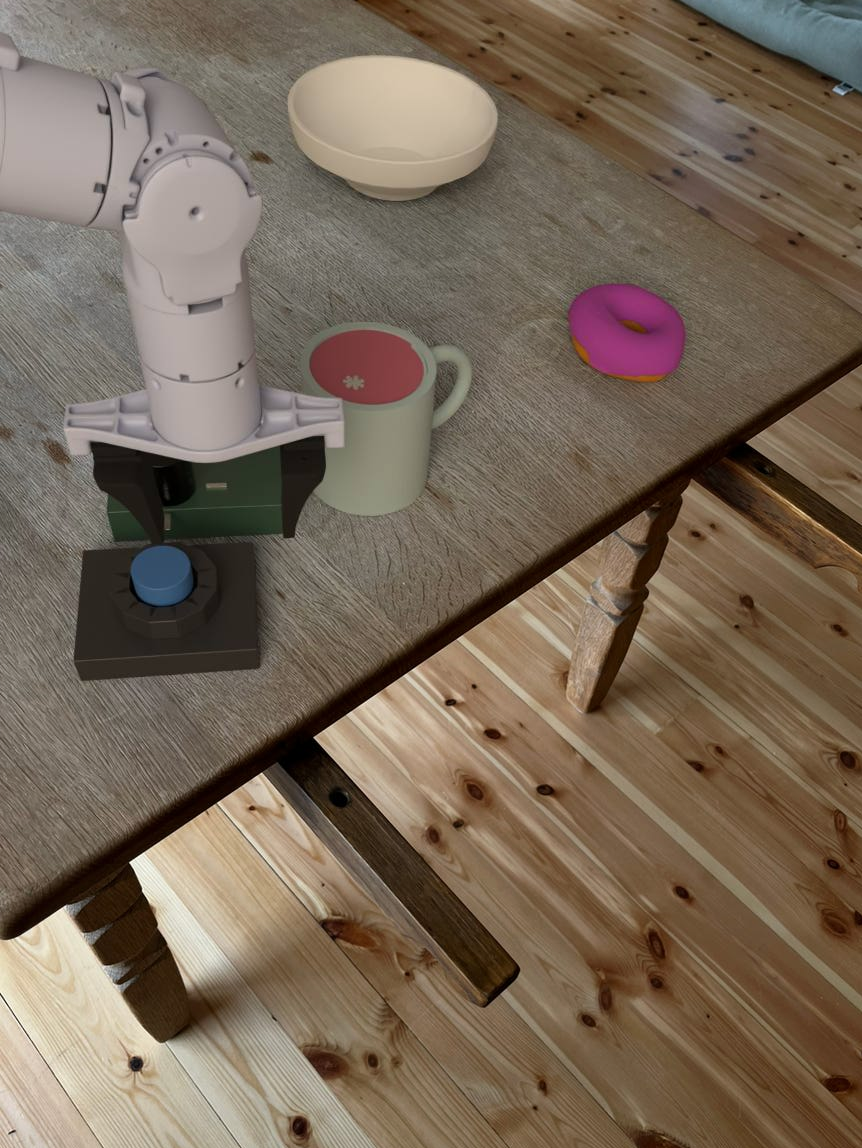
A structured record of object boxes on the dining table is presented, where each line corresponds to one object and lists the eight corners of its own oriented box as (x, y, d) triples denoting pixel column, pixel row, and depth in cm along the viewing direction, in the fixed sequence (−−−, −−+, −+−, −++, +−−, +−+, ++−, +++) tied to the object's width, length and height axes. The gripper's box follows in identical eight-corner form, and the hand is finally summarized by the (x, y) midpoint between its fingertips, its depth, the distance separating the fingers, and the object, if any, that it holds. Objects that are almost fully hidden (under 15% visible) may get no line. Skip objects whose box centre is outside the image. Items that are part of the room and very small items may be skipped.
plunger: (134, 608, 64) (129, 591, 63) (136, 564, 67) (131, 546, 65) (193, 605, 65) (190, 587, 64) (194, 561, 67) (190, 543, 66)
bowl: (253, 153, 102) (247, 80, 97) (416, 109, 111) (420, 39, 105) (361, 258, 94) (362, 183, 88) (530, 202, 102) (540, 130, 97)
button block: (80, 681, 65) (66, 644, 62) (89, 571, 70) (77, 531, 67) (259, 669, 67) (255, 632, 64) (255, 562, 72) (251, 523, 69)
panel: (113, 563, 71) (104, 532, 68) (121, 441, 78) (113, 409, 75) (291, 554, 73) (289, 523, 70) (284, 436, 80) (281, 404, 77)
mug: (347, 533, 75) (347, 428, 67) (282, 454, 79) (274, 346, 71) (499, 465, 80) (516, 361, 72) (431, 394, 84) (440, 288, 76)
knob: (140, 508, 70) (130, 464, 67) (142, 470, 72) (132, 425, 69) (195, 506, 71) (187, 462, 67) (195, 468, 73) (188, 423, 69)
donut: (674, 402, 87) (689, 358, 83) (554, 379, 87) (563, 334, 83) (681, 327, 93) (694, 283, 89) (569, 306, 93) (578, 261, 89)
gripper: (337, 295, 56) (340, 477, 66) (51, 296, 53) (102, 485, 64) (347, 383, 51) (348, 561, 62) (38, 389, 49) (95, 573, 60)
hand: (223, 528), depth 63 cm, fingers open, 7 cm apart
